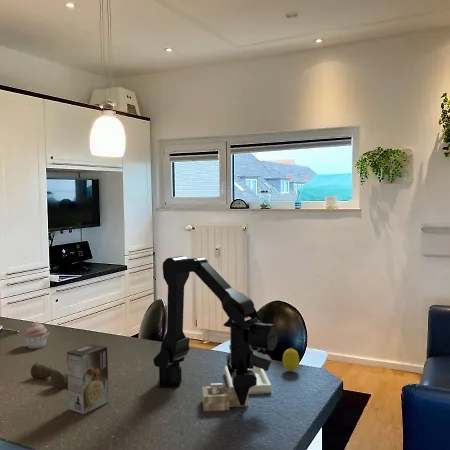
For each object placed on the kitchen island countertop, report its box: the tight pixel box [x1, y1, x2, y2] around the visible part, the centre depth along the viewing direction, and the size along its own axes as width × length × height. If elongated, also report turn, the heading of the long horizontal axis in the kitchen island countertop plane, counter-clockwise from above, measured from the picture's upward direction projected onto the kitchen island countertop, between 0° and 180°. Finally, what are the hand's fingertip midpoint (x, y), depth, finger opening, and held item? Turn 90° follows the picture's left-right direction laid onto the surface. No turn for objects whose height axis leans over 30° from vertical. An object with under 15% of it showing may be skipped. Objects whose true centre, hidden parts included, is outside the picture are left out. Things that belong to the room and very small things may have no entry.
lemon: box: [282, 347, 300, 373], centre depth 156 cm, size 6×6×8 cm
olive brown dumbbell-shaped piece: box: [30, 361, 68, 390], centre depth 148 cm, size 6×10×20 cm
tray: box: [224, 365, 272, 395], centre depth 147 cm, size 17×12×2 cm
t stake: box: [210, 382, 224, 394], centre depth 131 cm, size 4×4×6 cm
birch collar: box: [201, 385, 249, 412], centre depth 131 cm, size 12×7×4 cm, turn 96°
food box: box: [66, 343, 109, 415], centre depth 130 cm, size 9×6×16 cm
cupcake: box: [23, 321, 50, 350], centre depth 183 cm, size 9×9×10 cm
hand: (240, 398), depth 132 cm, fingers open, 8 cm apart
